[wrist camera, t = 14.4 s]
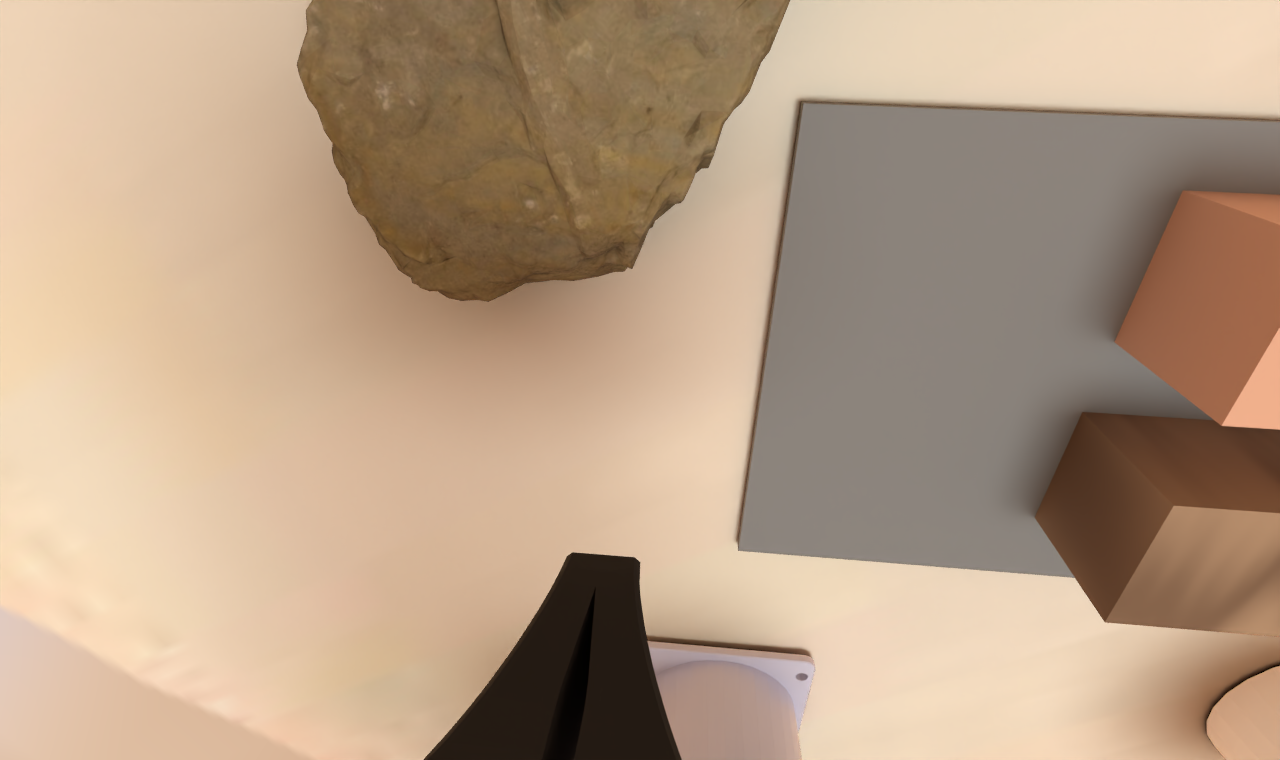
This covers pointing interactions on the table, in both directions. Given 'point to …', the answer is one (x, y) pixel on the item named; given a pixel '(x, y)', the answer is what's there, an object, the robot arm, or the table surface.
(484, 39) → the stone slab
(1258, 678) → the cup
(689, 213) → the table surface
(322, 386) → the table surface
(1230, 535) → the walnut block
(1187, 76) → the table surface
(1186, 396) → the terracotta block
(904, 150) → the rubber mat
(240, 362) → the table surface
